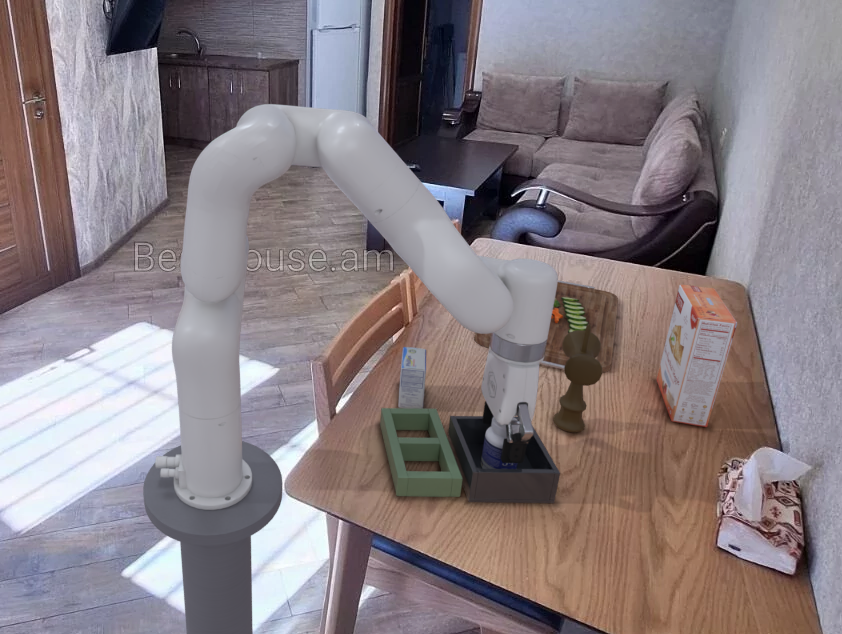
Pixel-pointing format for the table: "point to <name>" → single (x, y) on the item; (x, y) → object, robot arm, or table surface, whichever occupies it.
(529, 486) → the dark grey open bin
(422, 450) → the rack
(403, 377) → the medicine box
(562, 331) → the chopping board
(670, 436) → the table surface
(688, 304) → the cracker box
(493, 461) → the pill bottle
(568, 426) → the kendama
